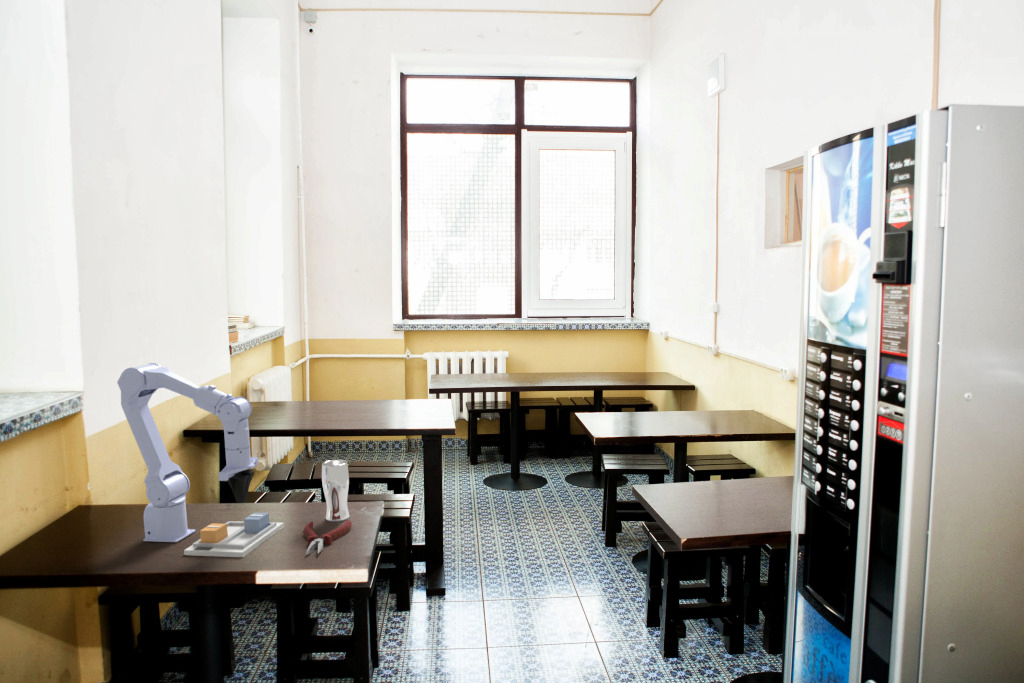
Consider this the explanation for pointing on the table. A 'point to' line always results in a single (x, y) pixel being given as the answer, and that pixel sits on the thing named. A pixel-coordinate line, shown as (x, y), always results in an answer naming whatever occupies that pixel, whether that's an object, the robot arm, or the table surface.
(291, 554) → the table surface
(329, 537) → the pliers
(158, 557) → the table surface
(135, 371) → the robot arm
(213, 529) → the orange white-striped block
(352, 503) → the table surface
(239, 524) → the white flat tray
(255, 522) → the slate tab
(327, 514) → the beer glass
